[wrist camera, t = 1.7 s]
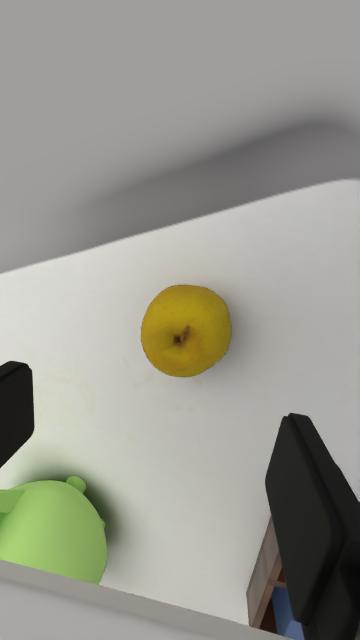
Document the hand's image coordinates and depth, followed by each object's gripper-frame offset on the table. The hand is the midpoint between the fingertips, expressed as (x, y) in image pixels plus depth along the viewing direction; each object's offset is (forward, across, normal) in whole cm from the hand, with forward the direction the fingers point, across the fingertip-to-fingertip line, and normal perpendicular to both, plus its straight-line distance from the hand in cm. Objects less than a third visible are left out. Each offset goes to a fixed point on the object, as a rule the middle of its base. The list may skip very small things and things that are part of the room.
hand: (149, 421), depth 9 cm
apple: (+14, 0, -1) cm, 14 cm away
